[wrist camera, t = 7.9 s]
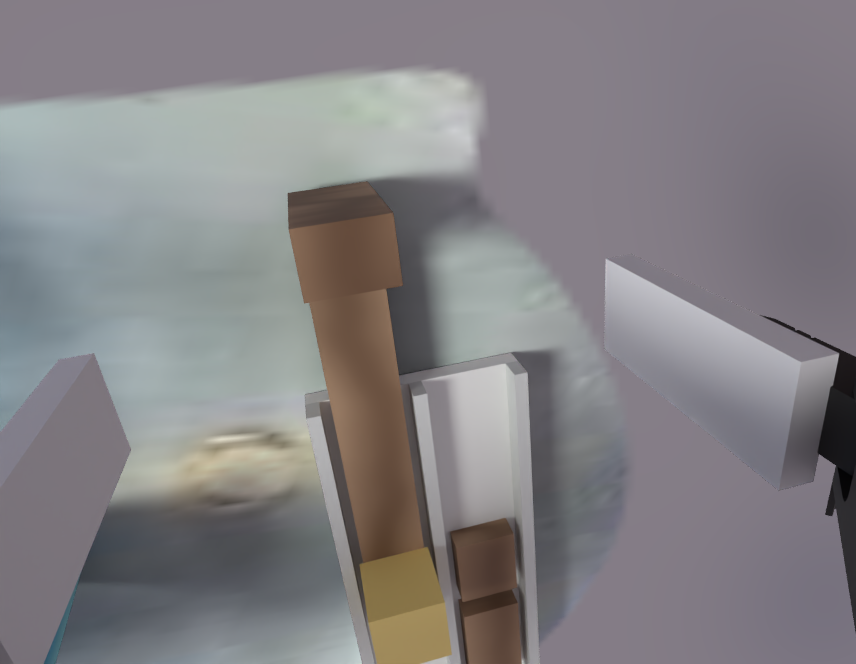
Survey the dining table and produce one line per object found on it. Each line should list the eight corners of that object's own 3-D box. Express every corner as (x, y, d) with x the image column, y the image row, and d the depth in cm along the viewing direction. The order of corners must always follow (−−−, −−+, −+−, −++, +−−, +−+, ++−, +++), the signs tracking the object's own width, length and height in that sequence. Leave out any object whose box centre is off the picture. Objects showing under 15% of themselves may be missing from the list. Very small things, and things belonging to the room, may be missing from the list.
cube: (369, 613, 39) (379, 675, 35) (359, 564, 37) (368, 622, 33) (435, 596, 40) (452, 654, 36) (428, 546, 38) (444, 602, 34)
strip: (375, 617, 41) (393, 729, 34) (287, 193, 29) (288, 229, 22) (429, 602, 42) (459, 709, 35) (367, 181, 30) (393, 212, 22)
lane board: (373, 697, 46) (378, 732, 44) (304, 394, 35) (306, 418, 32) (527, 652, 48) (540, 684, 46) (510, 352, 37) (527, 372, 34)
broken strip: (467, 672, 46) (472, 691, 44) (450, 531, 40) (456, 548, 38) (515, 658, 46) (522, 676, 45) (505, 517, 40) (513, 533, 39)
